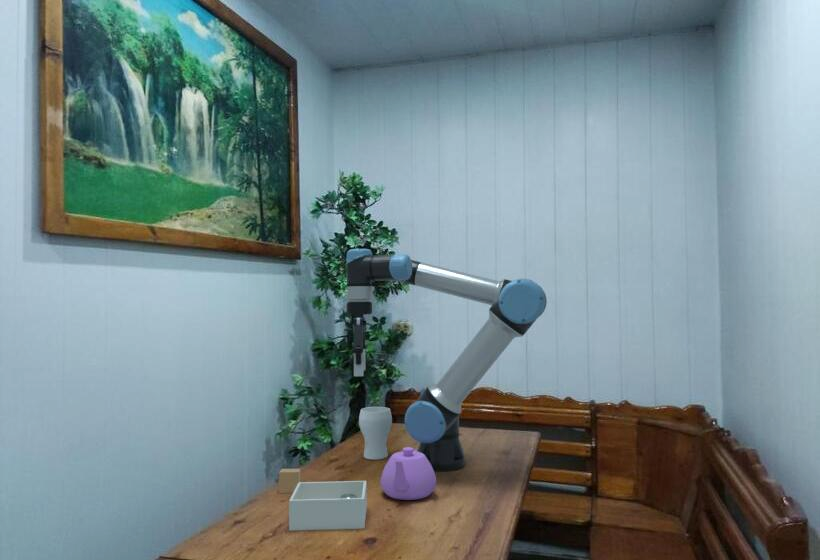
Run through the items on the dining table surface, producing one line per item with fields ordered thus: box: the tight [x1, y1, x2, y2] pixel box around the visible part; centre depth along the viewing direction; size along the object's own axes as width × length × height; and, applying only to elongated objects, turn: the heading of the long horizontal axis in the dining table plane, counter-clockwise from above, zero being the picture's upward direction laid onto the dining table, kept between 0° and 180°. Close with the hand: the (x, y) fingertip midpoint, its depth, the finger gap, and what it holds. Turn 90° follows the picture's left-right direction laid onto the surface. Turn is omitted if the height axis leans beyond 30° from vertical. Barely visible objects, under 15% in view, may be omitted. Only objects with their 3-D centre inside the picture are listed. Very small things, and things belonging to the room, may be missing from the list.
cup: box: [358, 406, 393, 460], centre depth 173 cm, size 11×11×15 cm
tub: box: [288, 480, 368, 532], centre depth 120 cm, size 16×12×7 cm
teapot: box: [380, 446, 437, 501], centre depth 135 cm, size 20×14×12 cm
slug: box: [340, 494, 356, 498], centre depth 123 cm, size 4×4×4 cm
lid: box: [278, 468, 302, 494], centre depth 139 cm, size 22×13×6 cm, turn 92°
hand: (359, 373), depth 158 cm, fingers open, 13 cm apart
